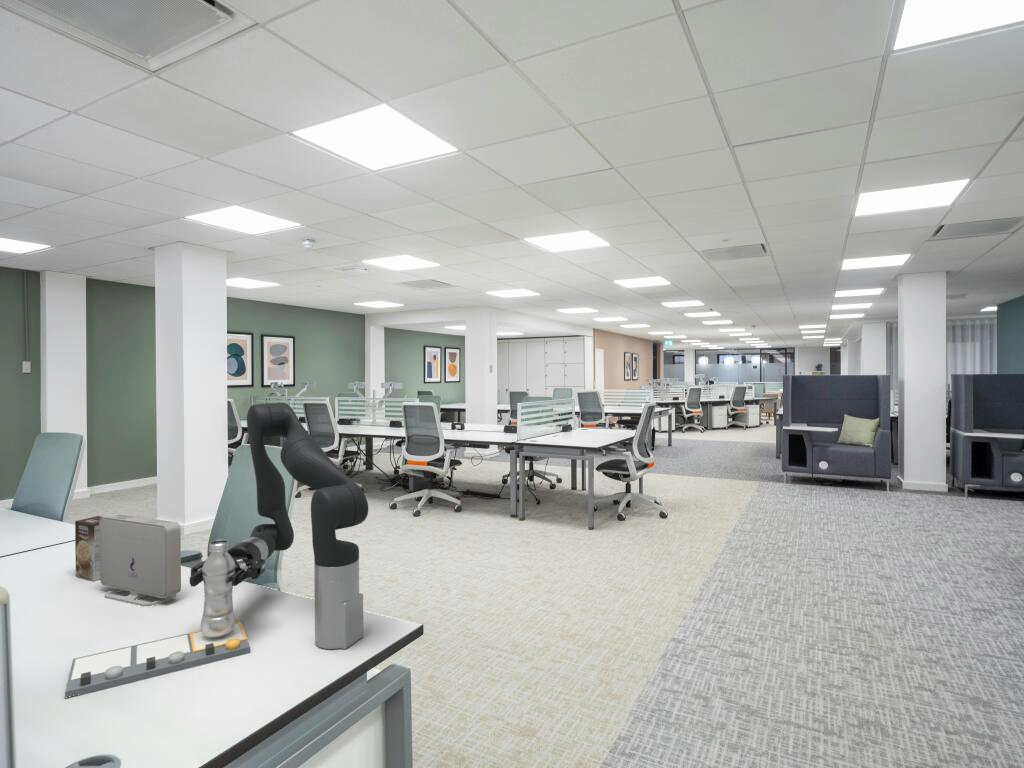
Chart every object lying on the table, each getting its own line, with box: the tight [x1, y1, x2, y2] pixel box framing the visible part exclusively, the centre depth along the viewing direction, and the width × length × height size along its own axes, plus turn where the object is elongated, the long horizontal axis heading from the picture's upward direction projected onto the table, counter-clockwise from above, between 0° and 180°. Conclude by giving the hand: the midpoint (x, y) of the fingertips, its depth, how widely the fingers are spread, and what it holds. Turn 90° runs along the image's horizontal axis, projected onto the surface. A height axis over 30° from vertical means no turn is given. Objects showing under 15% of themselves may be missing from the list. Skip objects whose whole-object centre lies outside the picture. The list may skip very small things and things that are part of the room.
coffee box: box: [74, 515, 103, 582], centre depth 161 cm, size 9×6×16 cm
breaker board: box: [64, 621, 251, 698], centre depth 113 cm, size 30×14×3 cm, turn 123°
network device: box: [99, 513, 182, 607], centre depth 146 cm, size 26×9×20 cm, turn 68°
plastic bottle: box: [200, 539, 236, 638], centre depth 121 cm, size 6×7×20 cm
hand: (213, 581), depth 118 cm, fingers open, 8 cm apart
